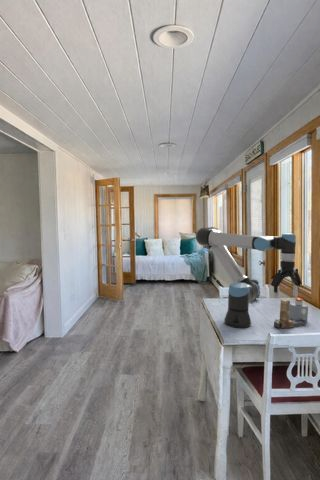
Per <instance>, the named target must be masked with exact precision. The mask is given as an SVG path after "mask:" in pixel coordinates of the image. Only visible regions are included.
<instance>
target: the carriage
mask: <svg viewBox="0 0 320 480" xmlns="http://www.w3.org/2000/svg"><path fill="white" fill-rule="evenodd" d="M279 304H280V305H279V307H280V308H279V309H280V310H279V318H277V319H274V321H277V322H279V323H280V324H281V328H280V329H289V328H294V327H293V321H294V320H292V319H290V318H289V310H290V304H291V300H289V299H285V298H284V299H280V303H279Z"/></svg>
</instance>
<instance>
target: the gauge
mask: <svg viewBox="0 0 320 480" xmlns="http://www.w3.org/2000/svg"><path fill="white" fill-rule="evenodd" d="M294 300H295V303H294V304H295V305H297V306H302V304H303V301H304V299H303V298H302V297H295V298H294Z"/></svg>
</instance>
